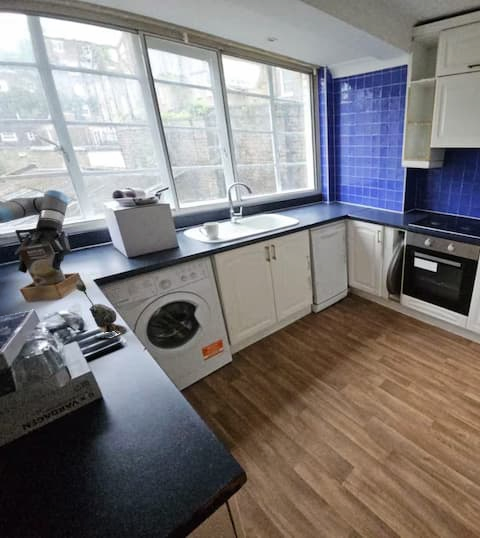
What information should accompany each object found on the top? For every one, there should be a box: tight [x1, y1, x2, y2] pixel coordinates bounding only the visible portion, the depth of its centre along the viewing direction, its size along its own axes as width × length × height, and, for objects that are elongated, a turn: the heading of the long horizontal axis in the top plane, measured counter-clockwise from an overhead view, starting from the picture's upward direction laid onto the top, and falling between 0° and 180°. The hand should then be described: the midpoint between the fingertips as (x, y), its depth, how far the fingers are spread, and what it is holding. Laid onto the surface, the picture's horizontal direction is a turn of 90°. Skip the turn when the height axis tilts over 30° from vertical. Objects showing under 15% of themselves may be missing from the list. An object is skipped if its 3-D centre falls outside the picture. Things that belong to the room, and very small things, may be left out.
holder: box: [15, 227, 40, 245], centre depth 157 cm, size 11×8×20 cm
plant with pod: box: [76, 278, 128, 335], centre depth 92 cm, size 8×11×20 cm
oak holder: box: [19, 272, 82, 303], centre depth 125 cm, size 13×14×6 cm
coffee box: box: [17, 243, 65, 287], centre depth 121 cm, size 9×6×16 cm
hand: (39, 270), depth 119 cm, fingers closed on coffee box, 11 cm apart
